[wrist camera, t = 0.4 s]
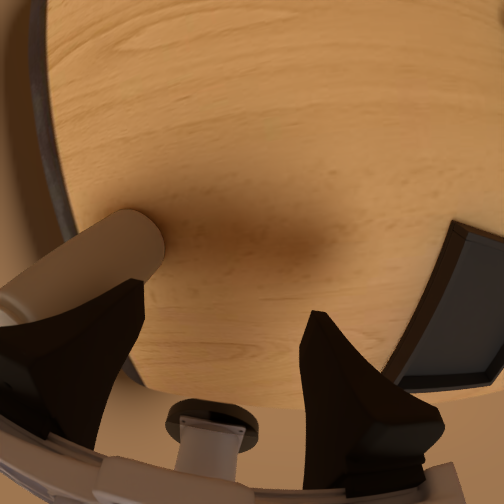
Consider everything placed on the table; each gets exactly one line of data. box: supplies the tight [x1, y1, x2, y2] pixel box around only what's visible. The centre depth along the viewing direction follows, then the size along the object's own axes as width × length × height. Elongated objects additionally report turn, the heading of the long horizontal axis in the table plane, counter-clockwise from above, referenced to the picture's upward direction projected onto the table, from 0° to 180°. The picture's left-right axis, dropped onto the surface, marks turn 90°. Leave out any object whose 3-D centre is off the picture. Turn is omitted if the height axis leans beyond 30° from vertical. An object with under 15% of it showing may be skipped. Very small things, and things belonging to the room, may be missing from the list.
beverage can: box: [0, 209, 165, 327], centre depth 14 cm, size 5×5×12 cm
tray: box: [381, 220, 504, 393], centre depth 20 cm, size 15×15×2 cm
